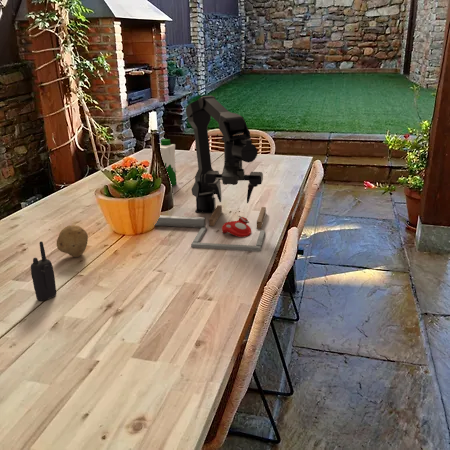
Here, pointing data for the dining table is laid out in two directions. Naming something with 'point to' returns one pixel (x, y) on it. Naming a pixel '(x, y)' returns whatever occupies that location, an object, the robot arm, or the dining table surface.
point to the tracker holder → (237, 227)
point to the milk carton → (169, 159)
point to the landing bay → (227, 246)
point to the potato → (72, 240)
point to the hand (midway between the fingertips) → (234, 202)
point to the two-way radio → (43, 277)
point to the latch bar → (181, 221)
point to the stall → (219, 210)
